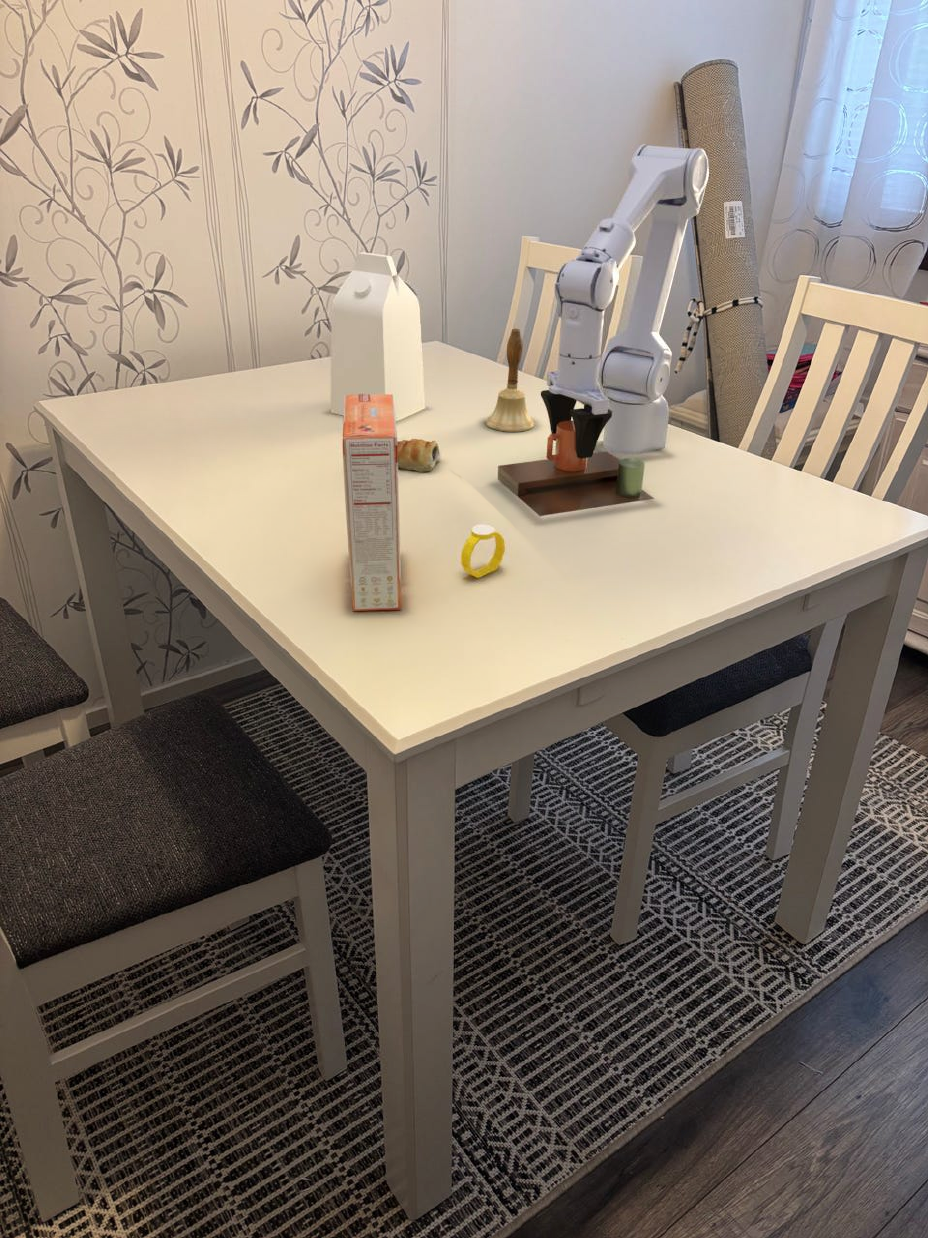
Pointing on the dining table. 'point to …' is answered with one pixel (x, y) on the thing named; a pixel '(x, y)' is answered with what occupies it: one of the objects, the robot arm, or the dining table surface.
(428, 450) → the pastry
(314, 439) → the dining table surface
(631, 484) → the tin
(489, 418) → the hand bell
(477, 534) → the watch
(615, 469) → the step shelf
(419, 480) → the dining table surface
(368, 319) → the milk
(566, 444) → the jug
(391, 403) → the cracker box
